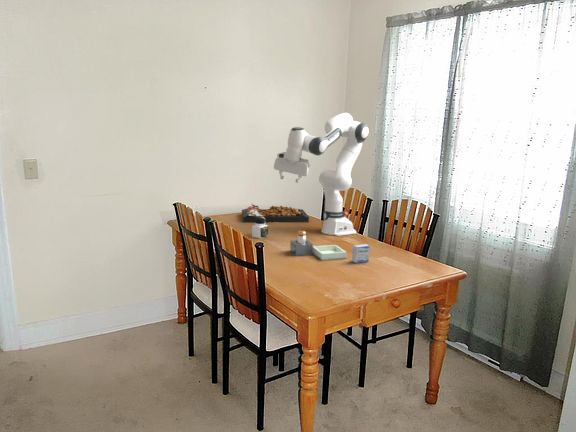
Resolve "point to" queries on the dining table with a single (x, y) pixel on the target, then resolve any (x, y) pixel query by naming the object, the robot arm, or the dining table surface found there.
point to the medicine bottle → (260, 228)
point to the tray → (329, 252)
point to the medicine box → (360, 253)
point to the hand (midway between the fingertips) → (289, 180)
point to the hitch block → (301, 248)
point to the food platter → (274, 214)
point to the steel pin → (301, 237)
